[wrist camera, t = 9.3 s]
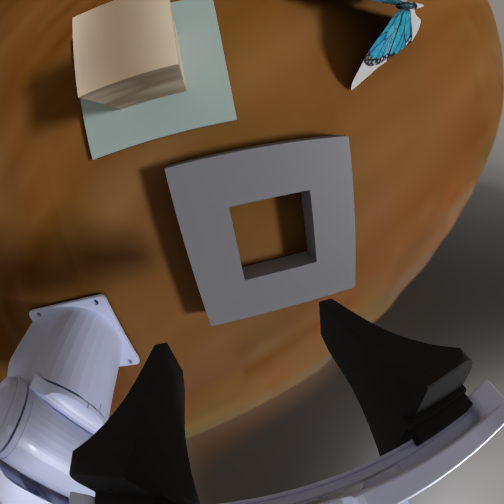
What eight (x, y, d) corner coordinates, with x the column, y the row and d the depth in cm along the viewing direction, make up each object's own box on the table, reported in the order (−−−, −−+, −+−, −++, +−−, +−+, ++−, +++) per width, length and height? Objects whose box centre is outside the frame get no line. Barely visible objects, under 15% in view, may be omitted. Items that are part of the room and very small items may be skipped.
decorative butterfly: (457, 55, 13) (417, 78, 11) (404, 64, 19) (348, 93, 17) (398, -41, 8) (328, -53, 7) (352, -18, 14) (278, -10, 13)
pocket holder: (209, 311, 22) (211, 326, 20) (168, 165, 17) (164, 168, 15) (344, 275, 23) (354, 286, 21) (335, 135, 18) (348, 135, 16)
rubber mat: (95, 159, 16) (92, 159, 15) (76, 38, 11) (74, 36, 11) (235, 120, 17) (236, 119, 16) (211, -2, 12) (212, -5, 12)
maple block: (121, 109, 14) (78, 97, 8) (113, 53, 12) (72, 18, 6) (186, 91, 15) (178, 63, 8) (177, 34, 13) (166, -15, 7)
